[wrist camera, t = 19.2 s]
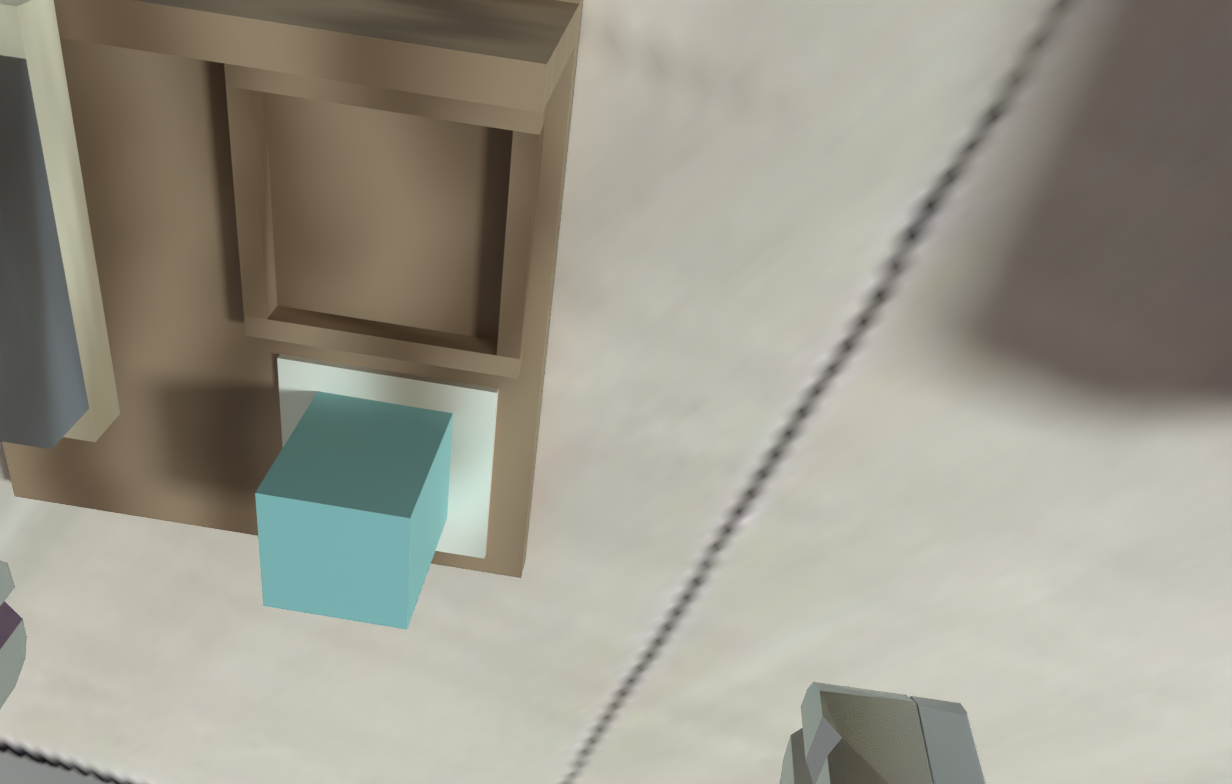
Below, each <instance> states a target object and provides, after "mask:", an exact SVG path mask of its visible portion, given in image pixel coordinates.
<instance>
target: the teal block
mask: <svg viewBox="0 0 1232 784" xmlns="http://www.w3.org/2000/svg"><path fill="white" fill-rule="evenodd" d="M452 420H453V413H449V412H442V411H436V410H430V409H424V408H418V407H412V406H406V405H399V404H393V403H387V402H381V401H375V400H369V399H363V398H357V397H350V396H344V395H338V394H332V393H326V392H320V391H318V392H317V393H316V395H315V397H314V398H313V400H312V401H311V403H310V405H309V406H308V408H307V410H306V411H305V413H304V414H303V416H302V418H301V419H300V421H299V423H298V424H297V426H296V427H295V429H294V431H293V432H292V434H291V436H290V437H289V439H288V440H287V442H286V444H285V445H284V447H283V449H282V450H281V452H280V453H279V455H278V457H277V458H276V460H275V461H274V463H273V465H272V466H271V468H270V470H269V471H268V473H267V474H266V476H265V478H264V479H263V481H262V483H261V484H260V486H259V487H258V489H257V491H256V492H255V498H256V511H257V525H258V538H259V551H260V565H261V578H262V592H263V605H264V606H268V607H274V608H280V609H286V610H292V611H298V612H304V613H310V614H316V615H323V616H329V617H335V618H341V619H347V620H353V621H359V622H365V623H371V624H377V625H383V626H389V627H395V628H401V629H407V628H408V625H409V622H410V620H411V617H412V614H413V611H414V609H415V606H416V603H417V600H418V597H419V595H420V592H421V589H422V586H423V584H424V581H425V578H426V575H427V573H428V570H429V567H430V564H431V561H432V559H433V556H434V553H435V550H436V548H437V545H438V542H439V539H440V536H441V534H442V531H443V528H444V525H445V523H446V520H447V513H448V494H449V476H450V457H451V438H452Z"/></svg>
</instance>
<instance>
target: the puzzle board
mask: <svg viewBox="0 0 1232 784" xmlns="http://www.w3.org/2000/svg"><path fill="white" fill-rule="evenodd" d="M54 6H55V12H56V18H57V25H58V31H59V37H60V43H61V49H62V55H63V62H64V68H65V74H66V80H67V86H68V93H69V99H70V105H71V111H72V117H73V124H74V130H75V136H76V142H77V148H78V155H79V161H80V167H81V173H82V179H83V186H84V192H85V198H86V204H87V210H88V216H89V223H90V229H91V235H92V241H93V247H94V254H95V260H96V266H97V272H98V278H99V285H100V291H101V297H102V303H103V309H104V316H105V322H106V328H107V334H108V340H109V346H110V353H111V359H112V365H113V371H114V377H115V384H116V390H117V396H118V402H119V408H120V415H119V416H118V417H117V418H116V419H115V420H114V421H113V423H112V424H111V425H110V426H109V427H108V428H107V429H106V431H105V432H104V433H103V434H102V435H101V436H100V437H99V439H98V440H97V441H96V442H91V441H84V440H78V439H72V438H66V437H62V439H61V440H60V441H59V442H58V443H57V444H56V445H55V446H54V447H53V448H52V449H45V448H39V447H33V446H27V445H20V444H14V443H8V442H2V445H3V449H4V454H5V458H6V462H7V466H8V470H9V474H10V478H11V483H12V487H13V491H14V495H15V496H16V497H23V498H29V499H35V500H41V501H47V502H54V503H60V504H66V505H72V506H78V507H85V508H91V509H97V510H103V511H109V512H116V513H122V514H128V515H134V516H140V517H147V518H153V519H159V520H165V521H171V522H178V523H184V524H190V525H196V526H202V527H209V528H215V529H221V530H227V531H233V532H240V533H246V534H252V535H258V525H257V511H256V498H255V492H256V491H257V489H258V487H259V486H260V484H261V483H262V481H263V479H264V478H265V476H266V474H267V473H268V471H269V470H270V468H271V466H272V465H273V463H274V461H275V460H276V458H277V457H278V455H279V453H280V452H281V450H282V449H283V447H284V445H285V444H286V442H287V440H288V439H289V437H290V436H291V434H292V432H293V431H294V429H295V427H296V426H297V424H298V423H299V421H300V419H301V418H302V416H303V414H304V413H305V411H306V410H307V408H308V406H309V405H310V403H311V401H312V400H313V398H314V397H315V395H316V393H317V392H318V391H320V392H326V393H332V394H338V395H344V396H350V397H357V398H363V399H369V400H375V401H381V402H387V403H393V404H399V405H406V406H412V407H418V408H424V409H430V410H436V411H442V412H449V413H453V420H452V438H451V457H450V476H449V494H448V513H447V520H446V523H445V525H444V528H443V531H442V534H441V536H440V539H439V542H438V545H437V548H436V550H435V553H434V556H433V559H432V561H431V563H432V564H438V565H444V566H451V567H457V568H463V569H469V570H475V571H482V572H488V573H494V574H500V575H506V576H513V577H519V578H521V575H522V571H523V567H524V563H525V557H526V547H527V538H528V528H529V518H530V509H531V499H532V489H533V480H534V470H535V460H536V451H537V441H538V431H539V422H540V412H541V402H542V393H543V383H544V374H545V364H546V354H547V345H548V335H549V325H550V316H551V306H552V296H553V287H554V277H555V267H556V258H557V248H558V238H559V229H560V219H561V209H562V200H563V190H564V180H565V171H566V161H567V151H568V142H569V132H570V122H571V113H572V103H573V94H574V84H575V74H576V65H577V55H578V45H579V36H580V26H581V16H582V7H583V0H54Z"/></svg>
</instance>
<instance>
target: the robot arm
mask: <svg viewBox="0 0 1232 784" xmlns="http://www.w3.org/2000/svg"><path fill="white" fill-rule="evenodd" d="M14 588H15V585H14V582H13V579H12V576H11V572H10V569H9V566H8V563H6V562H3V561H0V709H1V707H2V706H3V704H4V703H5V701H6V700H7V698H8V697H9V695H10V694H11V692H12V691H13V689H14V688H15V686H16V683H17V680H18V677H19V675H20V672H21V669H22V666H23V663H24V661H25V655H26V638H27V636H26V632H25V627H24V623H23V619H22V618H21V617H20V616H19V615H18V614H17V613H16V612H15V611H14V610H13V609H12V608H11V607H10V606H9V605H8V604H7V603H6V602H5V600H6V598H7V597H8V596H9V594H10V593H11V592H12V590H13V589H14ZM801 713H802V725H803V728H802V729H800V730H798V731H797V732H795V733H794V734H792V735H791V736H790V739H789V742H788V746H787V749H786V752H785V755H784V759H783V766H782V772H781V779H780V784H986V782H985V778H984V774H983V770H982V767H981V763H980V759H979V755H978V751H977V748H976V744H975V740H974V736H973V733H972V729H971V725H970V721H969V717H968V714H967V711H966V710H965V709H964V708H963V706H962V705H961V704H960V703H955V702H948V701H941V700H934V699H927V698H921V697H914V696H911V697H908V696H907V695H903V694H896V693H888V692H881V691H874V690H867V689H860V688H853V687H846V686H839V685H831V684H824V683H817V682H813V683H812V684H811V685H810V687H809V688H808V689H807V691H806V694H805V697H804V699H803V702H802V705H801Z"/></svg>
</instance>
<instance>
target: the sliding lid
mask: <svg viewBox="0 0 1232 784" xmlns="http://www.w3.org/2000/svg"><path fill="white" fill-rule="evenodd" d="M119 415H120V408H119V402H118V396H117V390H116V384H115V377H114V371H113V365H112V359H111V353H110V346H109V340H108V334H107V328H106V322H105V316H104V309H103V303H102V297H101V291H100V285H99V278H98V272H97V266H96V260H95V254H94V247H93V241H92V235H91V229H90V223H89V216H88V210H87V204H86V198H85V192H84V186H83V179H82V173H81V167H80V161H79V155H78V148H77V142H76V136H75V130H74V124H73V117H72V111H71V105H70V99H69V93H68V86H67V80H66V74H65V68H64V62H63V55H62V49H61V43H60V37H59V31H58V25H57V18H56V12H55V6H54V0H0V441H2V442H8V443H14V444H20V445H27V446H33V447H39V448H45V449H52V448H53V447H54V446H55V445H56V444H57V443H58V442H59V441H60V440H61V439H62V437H66V438H72V439H78V440H84V441H91V442H96V441H97V440H98V439H99V437H100V436H101V435H102V434H103V433H104V432H105V431H106V429H107V428H108V427H109V426H110V425H111V424H112V423H113V421H114V420H115V419H116V418H117V417H118V416H119Z"/></svg>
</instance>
